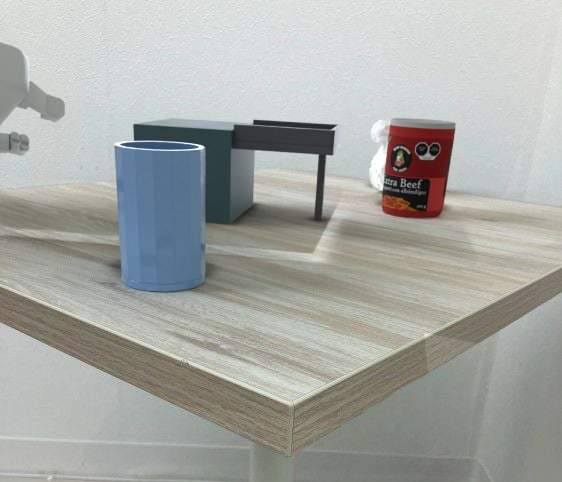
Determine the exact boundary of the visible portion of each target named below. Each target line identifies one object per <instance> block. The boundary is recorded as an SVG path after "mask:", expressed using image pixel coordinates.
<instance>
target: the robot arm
mask: <svg viewBox="0 0 562 482" xmlns="http://www.w3.org/2000/svg"><path fill="white" fill-rule="evenodd" d="M30 69H31V68H30V59H29V57H28V55H27V54H25V52H23V51H22V50H21V49H19V48H18V47H16V46H13V45H11V44H7V43H4V42H1V41H0V126H1V125H2V124H4V122H5V121H6V120H7V118H8V117H9V116H10V115H11V113H12V112H13V111H15V109H16V108H20V109H22V110H23V109H24V110H27V109H28V108H29V109H31V110H33V111H35V112H37V113H38V114H40V119H42V120H45V121H51V123H52V122H53V123H57V122H59V121H60V120H61V119H62V118H63V117H64V116H65V115H66V103H65V101H64V100H63V99H61V98H60V97H58V96H57V97H56V96H55V95H51V94H47V92H46V91H44V90H43V89H42V88H41V87H39V86H38V85H37V84H36V83H35V82H33V81H32V80H30V75H31V74H30V73H31V71H30ZM29 150H30V137H29V136H28V135H27V134H22V133H19V132H16V131H13V130H12V131H11V132H10V133H6V132H0V154H11V155H15V156H20V157H22V156H24V155H26V154H27V152H28V151H29Z"/></svg>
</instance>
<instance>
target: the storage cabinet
mask: <svg viewBox="0 0 562 482" xmlns="http://www.w3.org/2000/svg"><path fill="white" fill-rule="evenodd" d="M343 127H344V125H343V124H337V123H323V122H321V123H320V122H304V121H289V120H274V119H257V118H256V119H255V118H253V119H252V122H250V123H249V122H237V121H221V120H206V119H189V118H175V117H174V118H173V117H170V118H164V119H157V120H151V121H145V122H138V123H133V124H132V129H133V141H165V142H166V141H167V142H181V143H190V144H197V145H201V146H204V147H205V223H211V224H223V225H231V224H232V223H233V222H234V221H236V220H237V219H238V218H239V217H241V216H242V215H243V214H244V213H245V212H247V210H249V209H250V208H251V207H253V206H254V188H255V186H254V185H255V159H256V157H255V153H256V151H261V152H274V153H290V154H304V155H318V157H317V173H316V185H315V200H314V201H315V203H314V216H313V221H316V222H317V221H319V222H321V221H323V212H324V198H325V183H326V172H327V171H326V170H327V157H328V156H334V155H335V154H336V153H337V151H338V150H340V148H341V147H342V141H343V140H342V139H343V129H344V128H343Z"/></svg>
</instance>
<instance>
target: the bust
mask: <svg viewBox="0 0 562 482" xmlns="http://www.w3.org/2000/svg"><path fill="white" fill-rule="evenodd" d="M391 119H392V118H388V119H385V120H384V119H379V120H377V121H376V122H375V123H373V125H372V126H371V129H370V138H371V140H372V142H373V143H379V144H380V147H379V149H378V150H377V152H376V154H375V155H373V157H372V158H371V162H370V167H369V169H368V175H369V176H368V177H369V179H370V180H369V181H370V183H371V186H372V188H373V189H374V190H375V191H376V192H383V182H384V173H385V164H386V154H387V145H388V136H389V128H390V123H391Z"/></svg>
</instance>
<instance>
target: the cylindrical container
mask: <svg viewBox="0 0 562 482" xmlns="http://www.w3.org/2000/svg"><path fill="white" fill-rule="evenodd" d="M113 145H114V164H115V165H114V166H115V178H116V179H115V181H116V184H115V185H116V199H117V201H116V202H117V217H118V233H119V235H118V237H119V252H120V253H119V254H120V267H121V281H122V283H123V284H124V285H125V286H128V287H130V288H133V289H136V290H139V291H148V292H157V293H158V292H160V293H161V292H164V293H165V292H180V291H185V290H186V291H187V290H191V289H194V288H197V287H200V286H201V285H202V284H204V282H205V280H206V222H205V147H204V146H201V145H197V144H190V143H181V142H167V141H166V142H165V141H134V140H132V141H131V140H129V141H120V142H114V144H113Z"/></svg>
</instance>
